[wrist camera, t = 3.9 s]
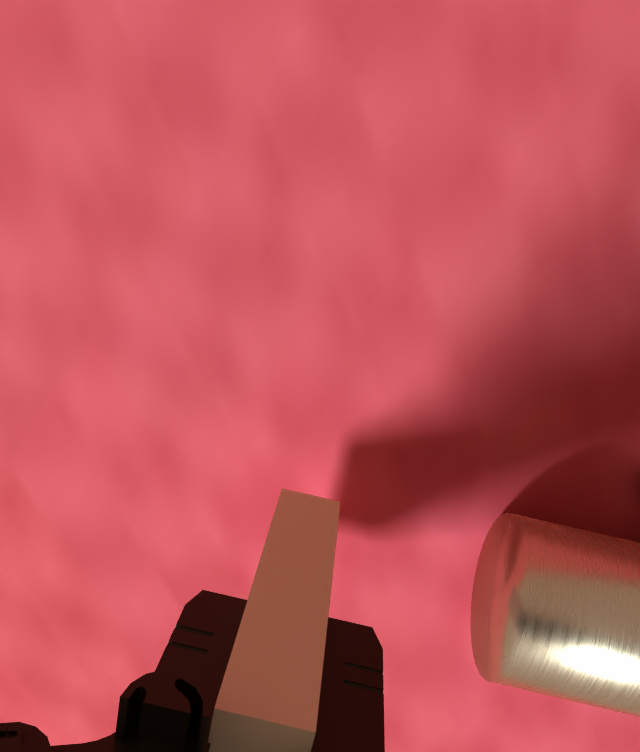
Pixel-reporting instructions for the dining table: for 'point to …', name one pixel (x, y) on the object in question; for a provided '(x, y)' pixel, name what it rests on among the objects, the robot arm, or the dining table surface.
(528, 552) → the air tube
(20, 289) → the dining table surface
